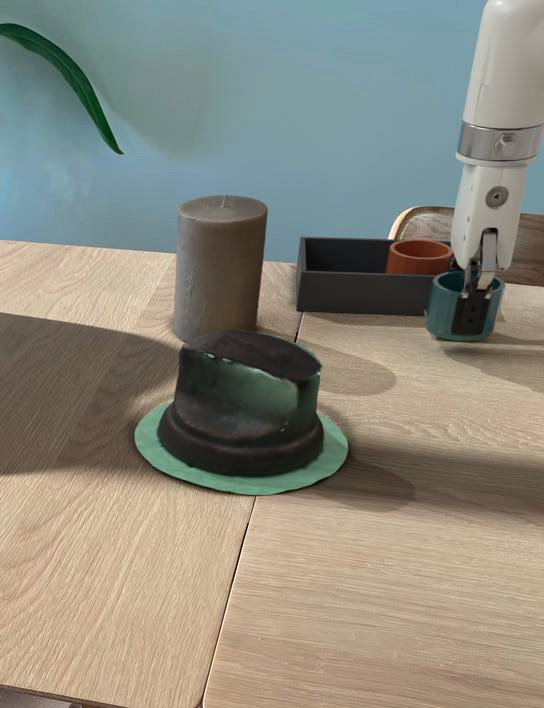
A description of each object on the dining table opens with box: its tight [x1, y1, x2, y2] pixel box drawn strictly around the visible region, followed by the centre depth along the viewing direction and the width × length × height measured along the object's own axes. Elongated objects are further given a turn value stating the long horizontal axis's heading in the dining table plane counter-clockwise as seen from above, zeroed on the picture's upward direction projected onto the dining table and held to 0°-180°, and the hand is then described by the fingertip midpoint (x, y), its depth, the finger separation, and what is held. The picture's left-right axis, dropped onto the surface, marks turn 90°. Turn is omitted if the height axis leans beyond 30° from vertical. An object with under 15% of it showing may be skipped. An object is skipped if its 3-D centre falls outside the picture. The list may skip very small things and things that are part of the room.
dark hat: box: [134, 330, 349, 496], centre depth 91 cm, size 15×19×20 cm
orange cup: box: [385, 238, 453, 275], centre depth 118 cm, size 7×7×5 cm
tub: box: [295, 236, 455, 317], centre depth 119 cm, size 19×13×5 cm
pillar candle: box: [173, 194, 269, 343], centre depth 108 cm, size 10×10×15 cm
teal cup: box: [424, 271, 506, 342], centre depth 105 cm, size 7×7×5 cm
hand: (461, 318), depth 106 cm, fingers closed on teal cup, 7 cm apart
